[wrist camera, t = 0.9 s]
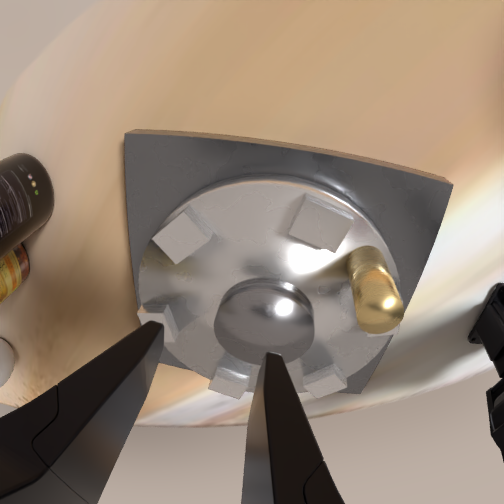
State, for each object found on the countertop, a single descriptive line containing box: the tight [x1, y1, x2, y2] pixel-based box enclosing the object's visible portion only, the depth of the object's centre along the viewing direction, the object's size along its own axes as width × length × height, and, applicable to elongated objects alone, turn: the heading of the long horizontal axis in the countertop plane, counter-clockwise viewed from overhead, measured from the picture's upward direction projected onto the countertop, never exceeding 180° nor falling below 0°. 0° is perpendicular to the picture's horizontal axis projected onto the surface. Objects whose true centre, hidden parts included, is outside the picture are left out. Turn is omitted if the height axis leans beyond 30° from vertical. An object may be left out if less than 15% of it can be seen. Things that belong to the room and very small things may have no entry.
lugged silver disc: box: [137, 174, 404, 399], centre depth 19 cm, size 17×17×6 cm
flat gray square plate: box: [125, 129, 453, 394], centre depth 22 cm, size 20×20×2 cm
